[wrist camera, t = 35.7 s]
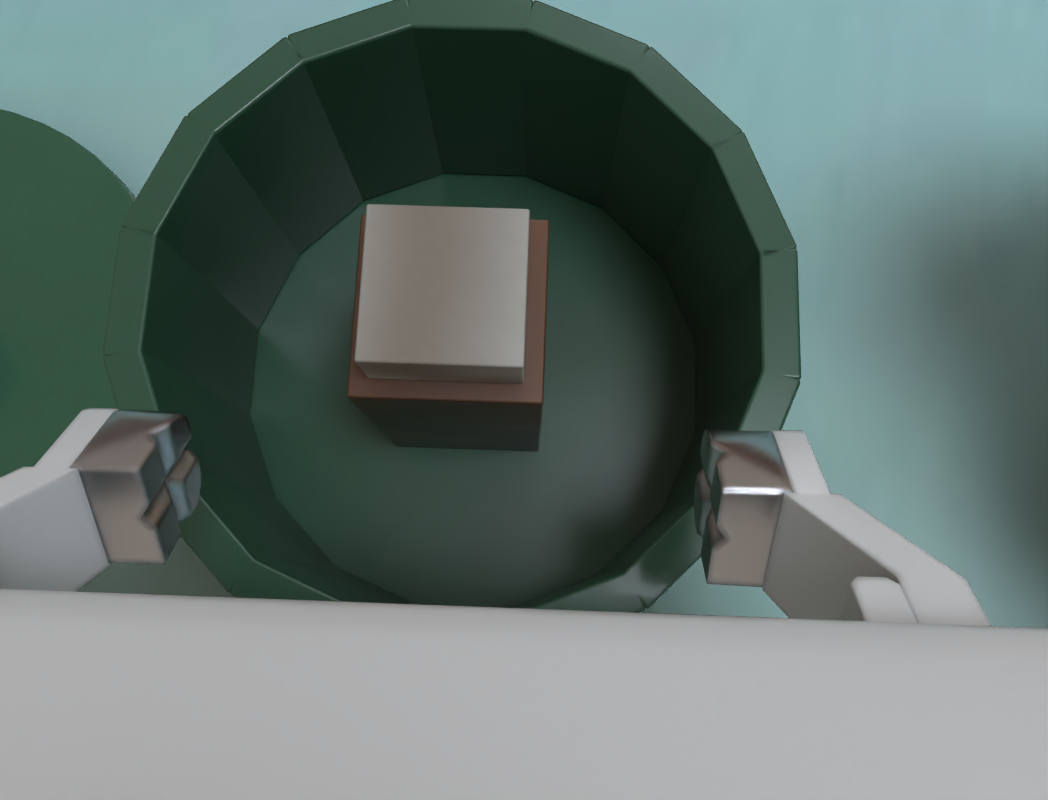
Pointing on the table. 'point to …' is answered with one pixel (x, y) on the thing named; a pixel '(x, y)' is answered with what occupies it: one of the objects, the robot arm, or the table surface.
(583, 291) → the pot
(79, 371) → the pot lid
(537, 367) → the brown and white block
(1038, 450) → the table surface
